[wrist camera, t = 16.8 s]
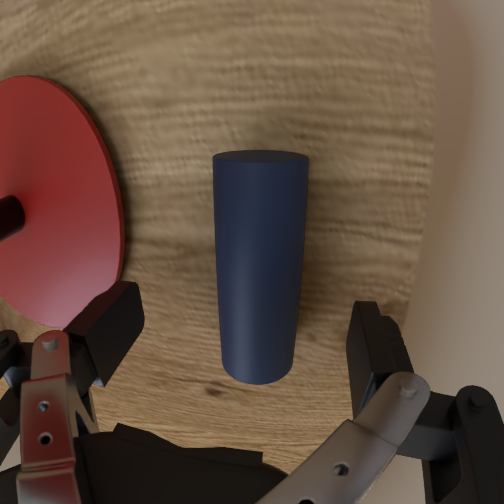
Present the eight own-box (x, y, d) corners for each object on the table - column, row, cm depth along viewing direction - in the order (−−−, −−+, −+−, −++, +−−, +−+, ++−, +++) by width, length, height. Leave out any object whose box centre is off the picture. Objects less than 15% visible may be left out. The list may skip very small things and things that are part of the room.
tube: (218, 150, 13) (205, 162, 10) (302, 151, 13) (316, 163, 10) (225, 337, 18) (218, 384, 14) (290, 337, 17) (295, 385, 14)
